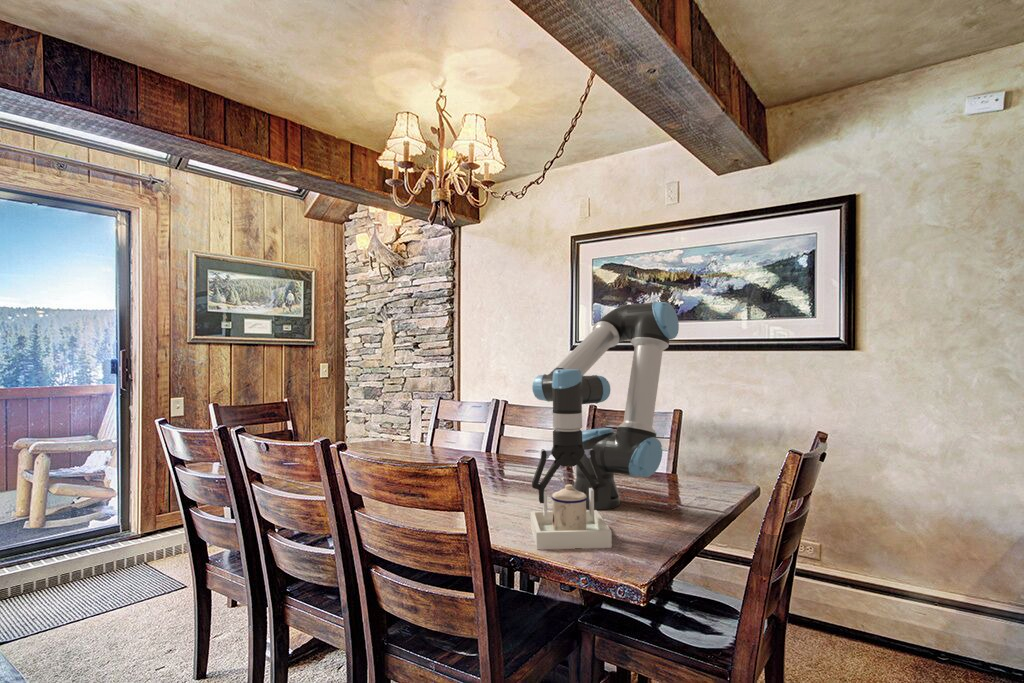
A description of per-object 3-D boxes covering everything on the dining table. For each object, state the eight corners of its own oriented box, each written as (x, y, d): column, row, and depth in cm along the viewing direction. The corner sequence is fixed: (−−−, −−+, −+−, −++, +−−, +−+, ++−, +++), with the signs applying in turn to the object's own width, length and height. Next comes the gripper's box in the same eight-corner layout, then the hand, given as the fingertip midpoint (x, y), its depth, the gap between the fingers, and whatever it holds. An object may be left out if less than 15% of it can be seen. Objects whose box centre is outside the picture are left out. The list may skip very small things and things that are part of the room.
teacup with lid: (560, 523, 147) (559, 479, 147) (592, 528, 143) (591, 483, 143) (541, 536, 136) (540, 489, 137) (575, 542, 132) (575, 493, 132)
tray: (596, 524, 149) (596, 510, 149) (611, 547, 131) (611, 530, 131) (530, 526, 148) (530, 511, 148) (536, 549, 130) (536, 532, 130)
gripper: (609, 426, 144) (611, 510, 144) (520, 428, 143) (521, 512, 143) (616, 430, 137) (617, 518, 136) (522, 431, 136) (523, 520, 135)
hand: (568, 515), depth 139 cm, fingers open, 11 cm apart
